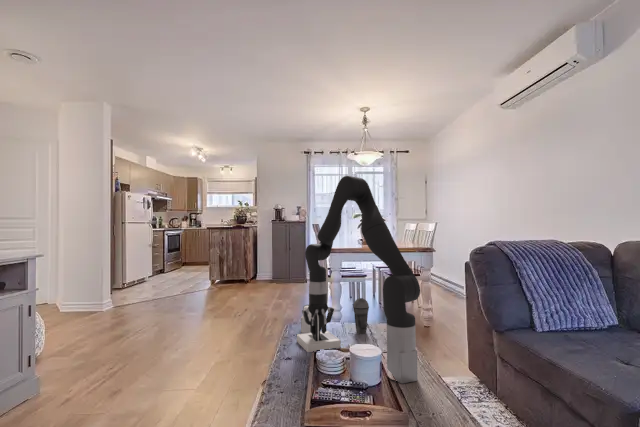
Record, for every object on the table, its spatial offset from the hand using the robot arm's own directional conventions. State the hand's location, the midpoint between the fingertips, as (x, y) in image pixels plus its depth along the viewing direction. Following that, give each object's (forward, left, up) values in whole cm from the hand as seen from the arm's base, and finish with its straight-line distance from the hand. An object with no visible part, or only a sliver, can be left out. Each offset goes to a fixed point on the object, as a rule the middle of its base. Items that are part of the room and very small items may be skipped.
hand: (318, 333), depth 153 cm
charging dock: (0, 0, -5) cm, 5 cm away
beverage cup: (+8, -24, -5) cm, 26 cm away
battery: (0, 0, -3) cm, 3 cm away
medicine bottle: (+19, -3, -5) cm, 20 cm away
